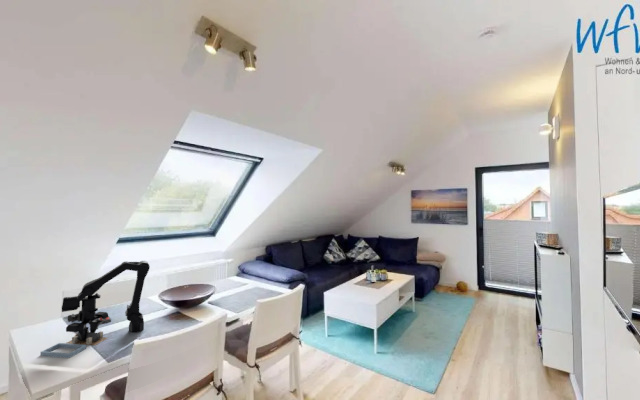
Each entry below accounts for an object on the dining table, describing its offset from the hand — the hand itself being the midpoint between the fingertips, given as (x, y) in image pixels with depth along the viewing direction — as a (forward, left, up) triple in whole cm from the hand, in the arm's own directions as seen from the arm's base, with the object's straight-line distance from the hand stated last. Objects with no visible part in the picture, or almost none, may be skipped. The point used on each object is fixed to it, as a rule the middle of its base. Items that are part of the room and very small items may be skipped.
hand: (87, 337), depth 147 cm
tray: (+1, +12, -2) cm, 12 cm away
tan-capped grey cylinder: (0, 0, -1) cm, 1 cm away
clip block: (0, 0, -2) cm, 2 cm away
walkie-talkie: (+12, -21, -3) cm, 24 cm away
